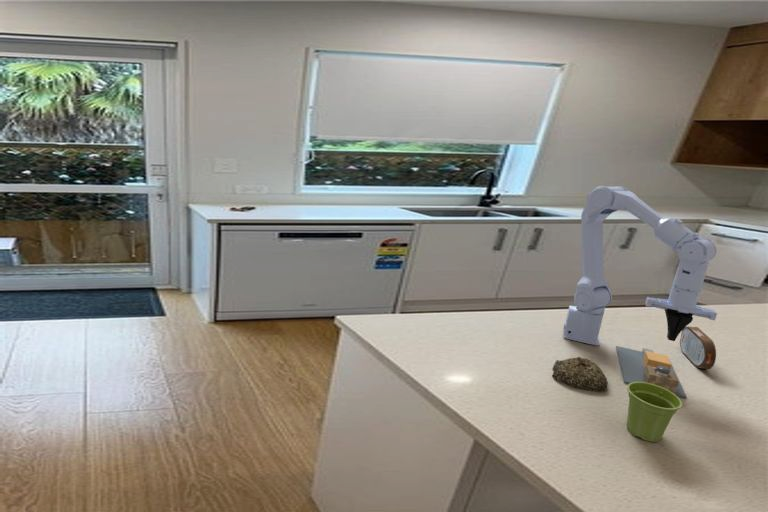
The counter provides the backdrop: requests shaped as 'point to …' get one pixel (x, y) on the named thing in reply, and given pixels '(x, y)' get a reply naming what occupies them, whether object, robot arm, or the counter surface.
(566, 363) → the brown rock
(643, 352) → the rail
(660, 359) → the tan block with tabs
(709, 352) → the tin
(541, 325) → the counter surface
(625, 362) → the base mat
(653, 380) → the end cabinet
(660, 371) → the grey domed push button
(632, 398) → the plant pot
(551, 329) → the counter surface
